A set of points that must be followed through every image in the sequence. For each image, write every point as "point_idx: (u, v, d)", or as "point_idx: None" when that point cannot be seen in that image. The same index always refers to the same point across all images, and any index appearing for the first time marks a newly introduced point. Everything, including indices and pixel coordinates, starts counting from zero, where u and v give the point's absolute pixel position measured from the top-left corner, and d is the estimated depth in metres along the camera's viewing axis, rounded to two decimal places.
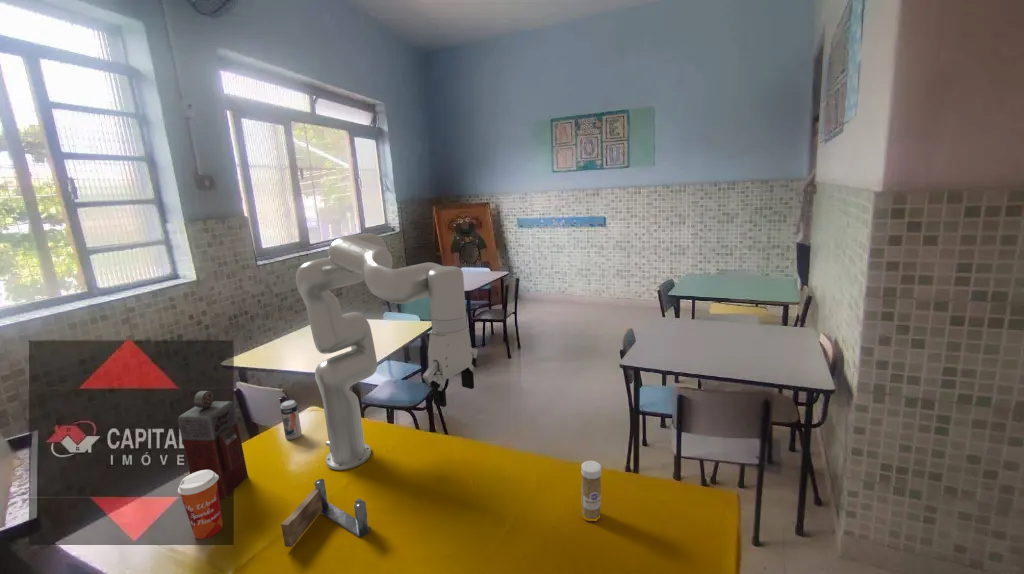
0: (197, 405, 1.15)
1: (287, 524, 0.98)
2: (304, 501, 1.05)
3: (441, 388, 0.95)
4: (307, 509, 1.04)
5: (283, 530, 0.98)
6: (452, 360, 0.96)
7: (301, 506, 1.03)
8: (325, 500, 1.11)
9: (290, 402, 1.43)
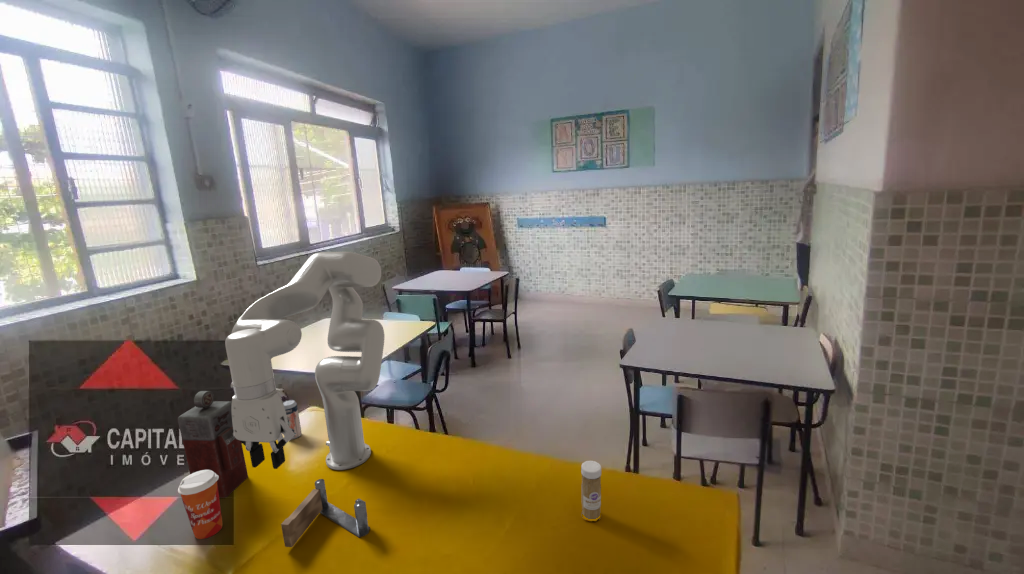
0: (197, 405, 1.15)
1: (287, 524, 0.98)
2: (304, 501, 1.05)
3: None
4: (307, 509, 1.04)
5: (283, 530, 0.98)
6: None
7: (301, 506, 1.03)
8: (325, 500, 1.11)
9: (290, 402, 1.43)
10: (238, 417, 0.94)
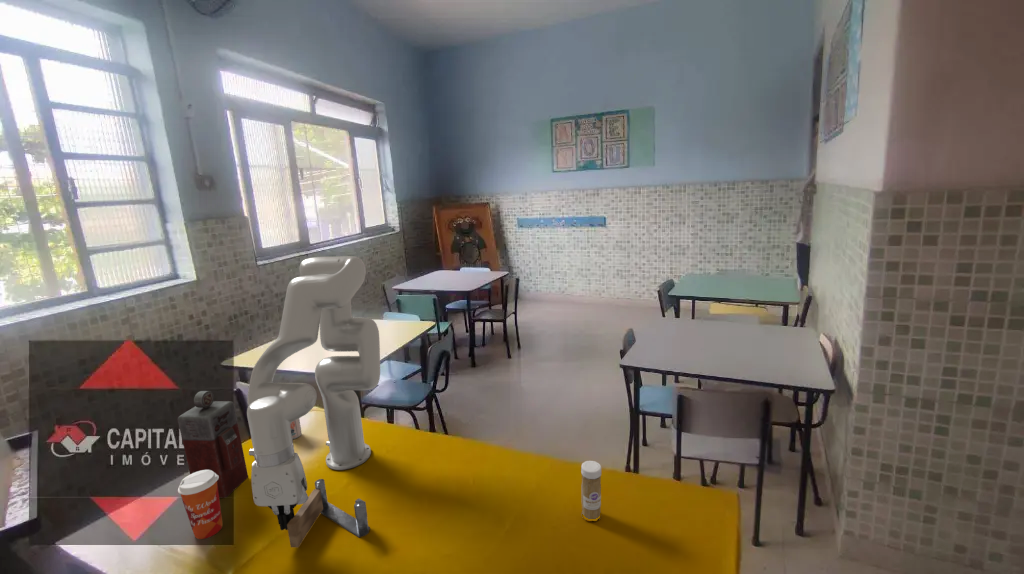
0: (197, 405, 1.15)
1: (293, 524, 0.98)
2: (306, 501, 1.05)
3: None
4: (310, 509, 1.04)
5: (289, 530, 0.98)
6: None
7: (304, 506, 1.03)
8: (325, 500, 1.11)
9: None
10: (259, 484, 0.96)
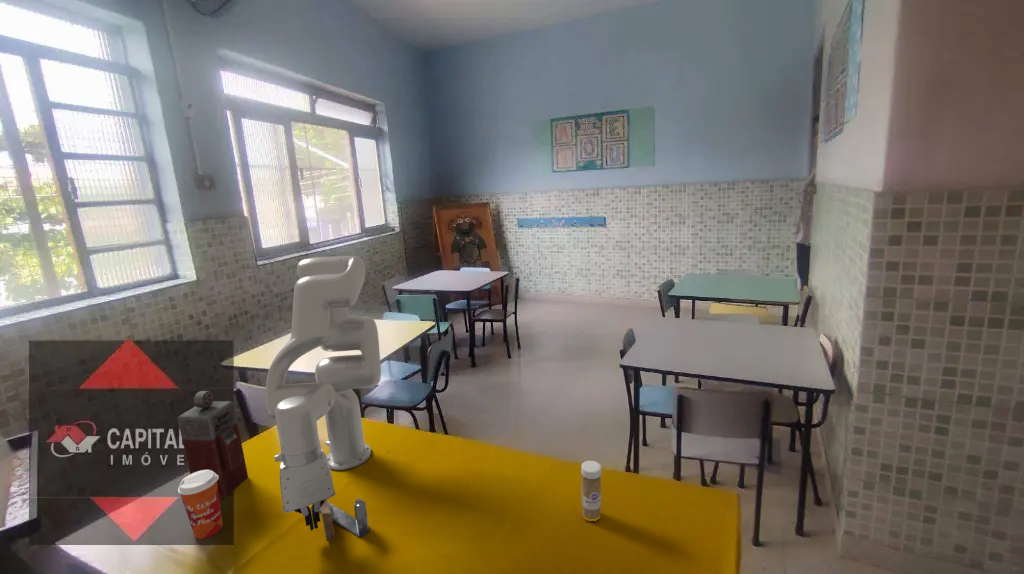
0: (197, 405, 1.15)
1: (330, 516, 0.99)
2: None
3: None
4: None
5: (325, 524, 0.99)
6: None
7: (323, 503, 1.04)
8: None
9: None
10: (292, 486, 0.94)
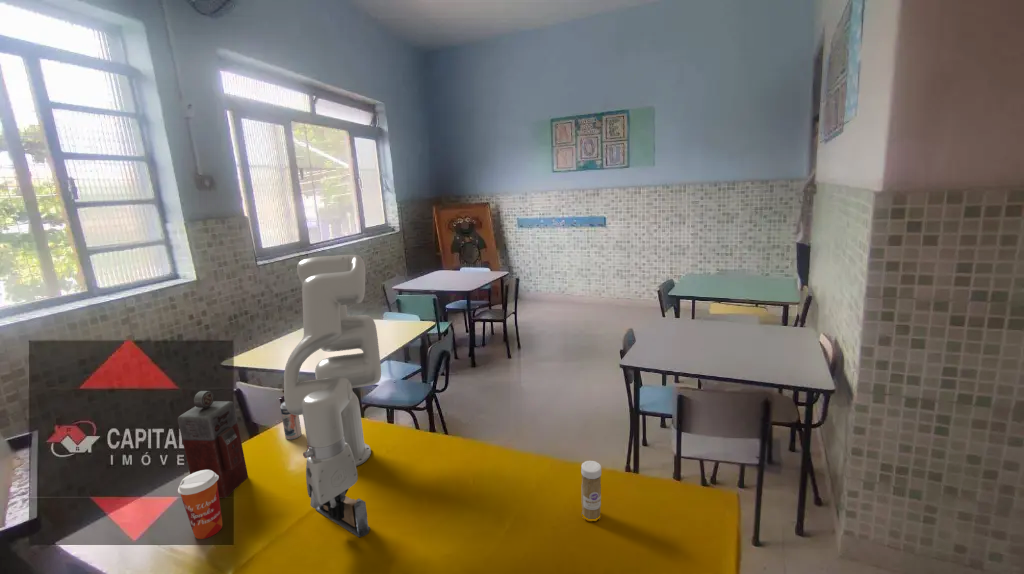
0: (197, 405, 1.15)
1: None
2: None
3: None
4: None
5: (353, 510, 1.03)
6: None
7: None
8: None
9: None
10: (326, 478, 0.97)
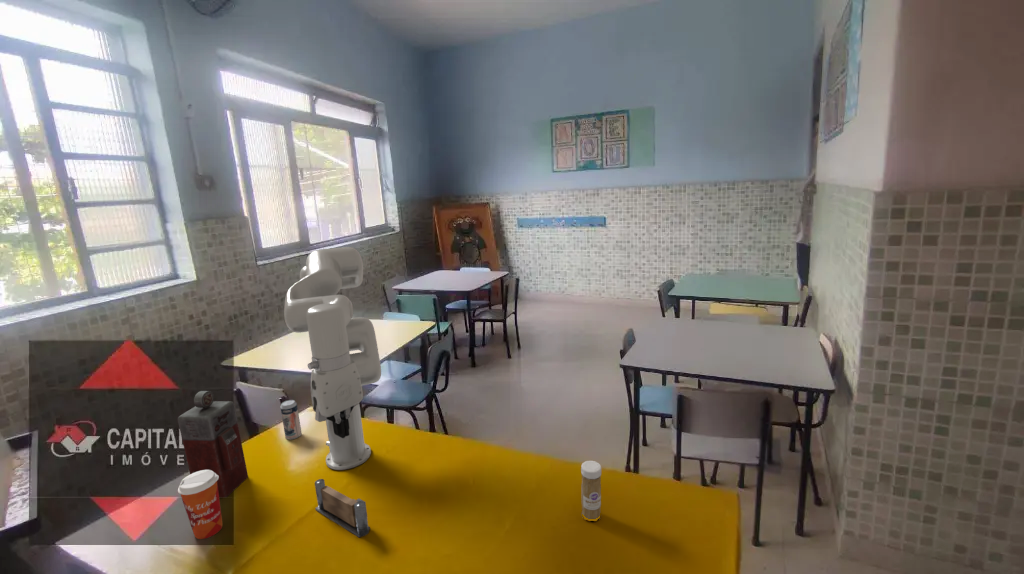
0: (197, 405, 1.15)
1: None
2: (332, 494, 1.07)
3: None
4: None
5: (353, 510, 1.03)
6: None
7: (338, 495, 1.07)
8: None
9: (290, 402, 1.43)
10: (330, 391, 0.95)
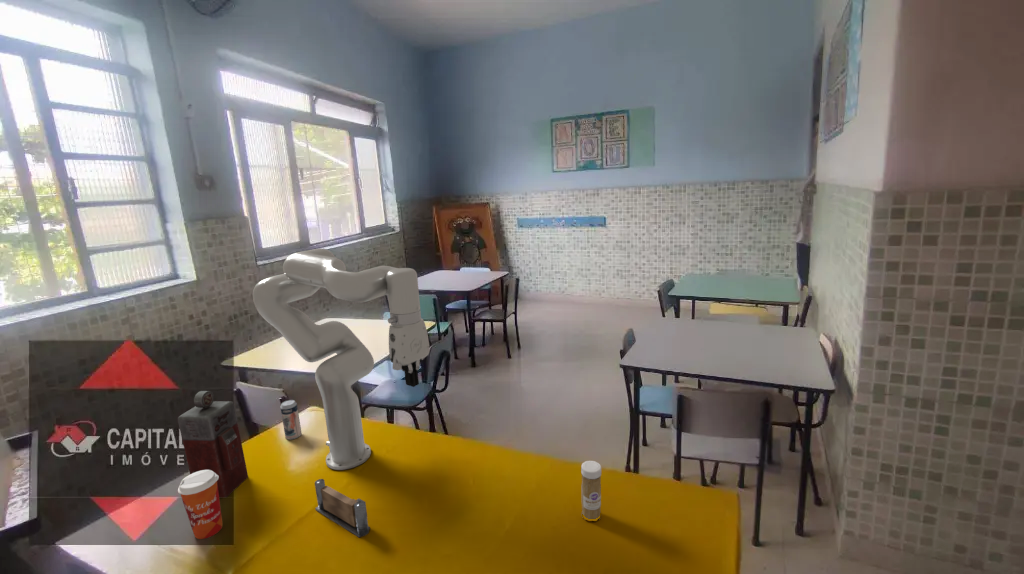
0: (197, 405, 1.15)
1: None
2: (332, 494, 1.07)
3: None
4: None
5: (353, 510, 1.03)
6: None
7: (338, 495, 1.07)
8: None
9: (290, 402, 1.43)
10: (407, 343, 1.10)
